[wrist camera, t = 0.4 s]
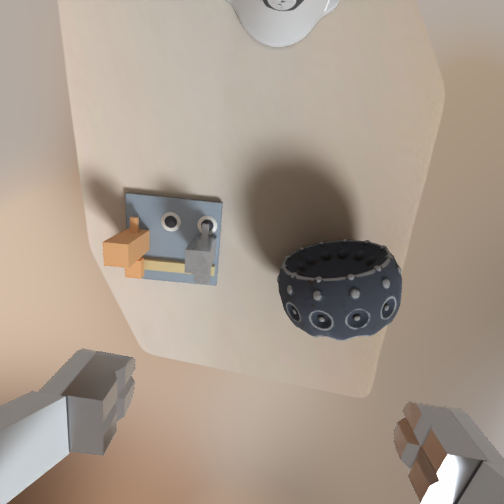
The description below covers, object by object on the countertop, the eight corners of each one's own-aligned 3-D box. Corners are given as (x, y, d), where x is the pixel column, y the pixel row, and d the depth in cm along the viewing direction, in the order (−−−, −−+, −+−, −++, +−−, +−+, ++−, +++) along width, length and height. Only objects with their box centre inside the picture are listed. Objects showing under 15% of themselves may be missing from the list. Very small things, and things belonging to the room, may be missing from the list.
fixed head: (197, 220, 54) (185, 233, 45) (217, 222, 54) (211, 235, 45) (194, 275, 58) (183, 298, 48) (214, 277, 58) (207, 300, 48)
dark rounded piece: (270, 249, 57) (280, 292, 38) (369, 229, 56) (430, 264, 37) (279, 295, 60) (292, 357, 41) (372, 278, 59) (430, 333, 40)
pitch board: (128, 192, 54) (123, 194, 52) (222, 202, 54) (221, 204, 52) (130, 275, 59) (126, 279, 57) (216, 283, 59) (215, 287, 57)
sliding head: (128, 214, 53) (101, 225, 44) (149, 216, 54) (127, 228, 44) (129, 270, 57) (105, 292, 47) (149, 272, 57) (129, 294, 48)
